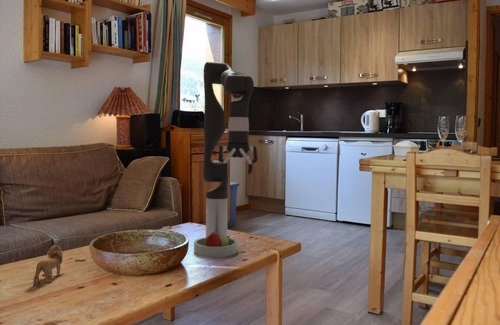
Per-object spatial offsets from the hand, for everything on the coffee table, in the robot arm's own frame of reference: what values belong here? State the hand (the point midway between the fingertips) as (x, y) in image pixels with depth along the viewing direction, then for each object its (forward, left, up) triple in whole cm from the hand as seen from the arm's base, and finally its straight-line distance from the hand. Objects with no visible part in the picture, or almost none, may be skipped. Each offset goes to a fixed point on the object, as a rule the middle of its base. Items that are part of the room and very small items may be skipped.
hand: (237, 174), depth 160 cm
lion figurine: (+35, -53, -30) cm, 71 cm away
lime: (-3, -6, -29) cm, 30 cm away
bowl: (0, -8, -30) cm, 31 cm away
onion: (+2, -8, -29) cm, 31 cm away
